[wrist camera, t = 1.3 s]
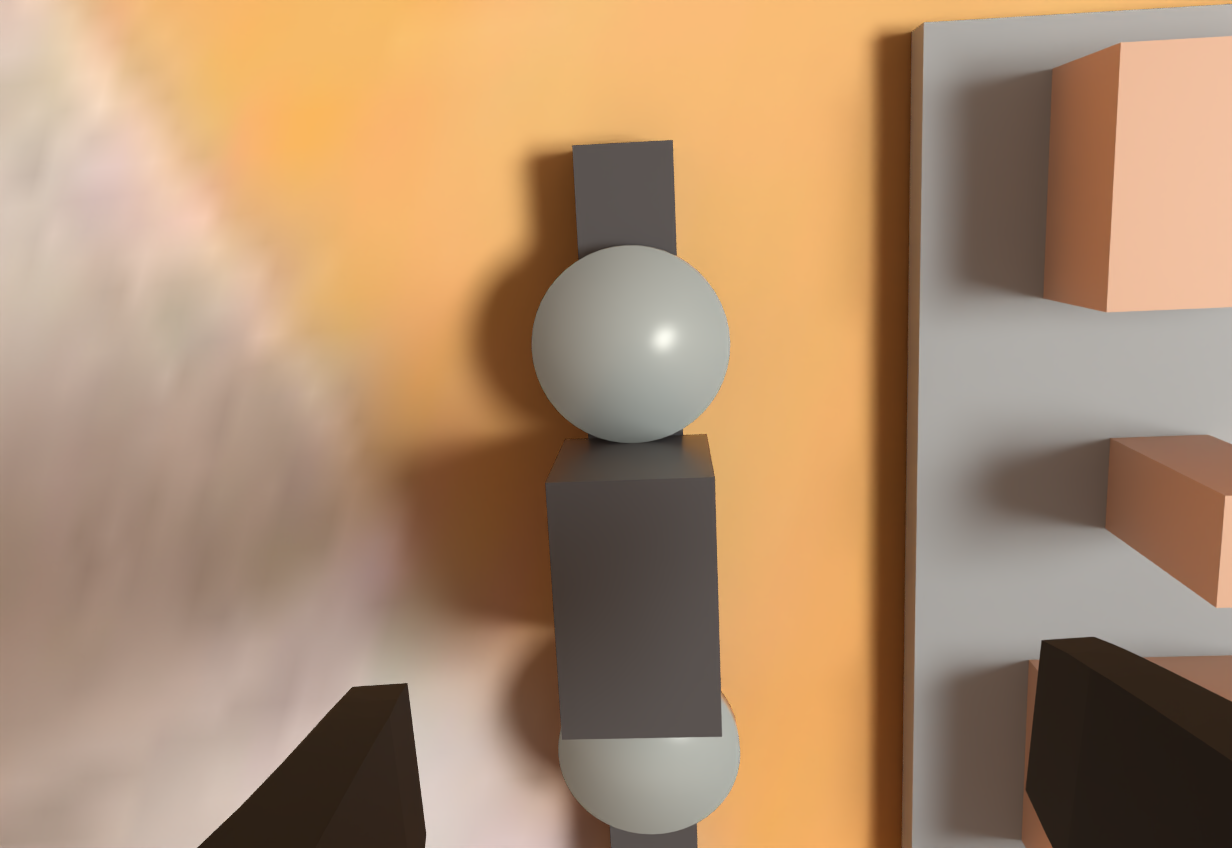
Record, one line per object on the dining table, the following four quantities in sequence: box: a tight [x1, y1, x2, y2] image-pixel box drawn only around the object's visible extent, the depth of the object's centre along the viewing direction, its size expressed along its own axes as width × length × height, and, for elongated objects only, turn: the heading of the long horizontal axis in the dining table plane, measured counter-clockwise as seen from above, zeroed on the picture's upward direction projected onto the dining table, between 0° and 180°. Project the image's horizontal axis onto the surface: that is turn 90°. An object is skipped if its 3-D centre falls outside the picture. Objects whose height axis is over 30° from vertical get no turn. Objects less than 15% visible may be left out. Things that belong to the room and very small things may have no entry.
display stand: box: [902, 4, 1232, 848], centre depth 19 cm, size 19×10×5 cm, turn 3°
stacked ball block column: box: [532, 140, 740, 848], centre depth 20 cm, size 17×4×5 cm, turn 3°
